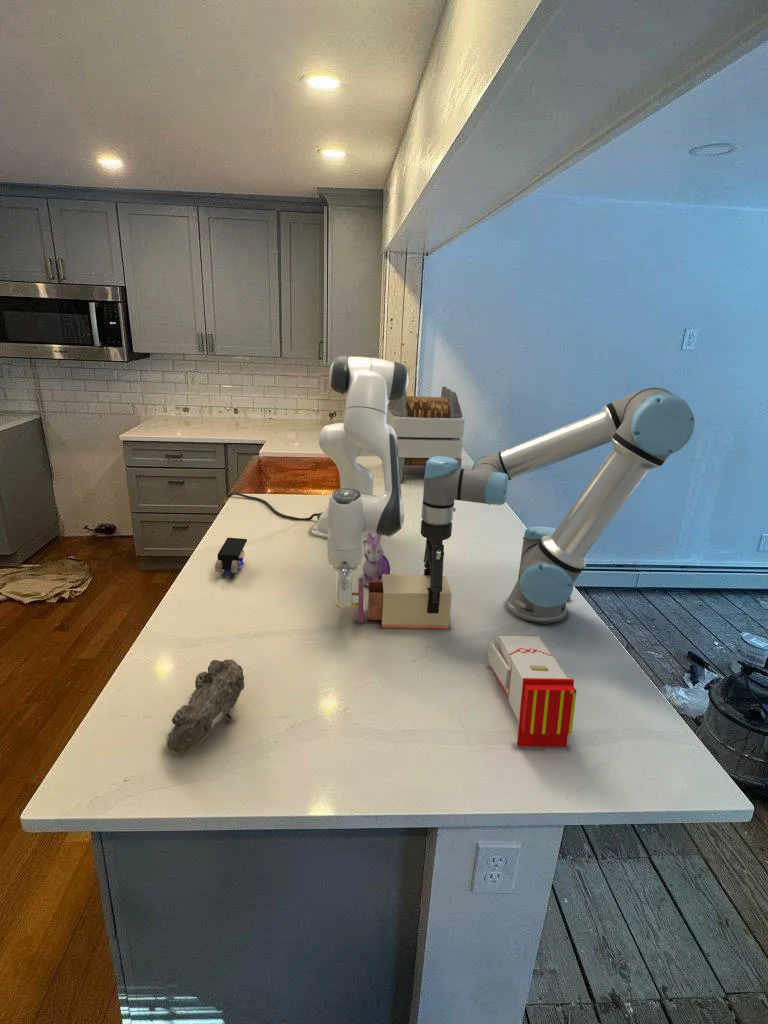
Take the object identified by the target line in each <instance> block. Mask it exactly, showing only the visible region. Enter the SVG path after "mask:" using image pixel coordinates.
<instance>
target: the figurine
mask: <svg viewBox="0 0 768 1024" xmlns="http://www.w3.org/2000/svg"><path fill="white" fill-rule="evenodd" d="M382 536H383V535H379V534H376V535H375V537H372V535H371V533H368V532H367V534H366V538H367V540H366V545H365V548H364V549H363V557H364V559H365V560H364V562H363V564H362V577H361V578H364V586H368V587H369V581H382V574H391V565H390V560H389V559H388V557H387V556H386V555H385V554H384V550H383V547H382V546H381V541H382Z"/></svg>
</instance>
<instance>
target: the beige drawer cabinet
mask: <svg viewBox="0 0 768 1024" xmlns="http://www.w3.org/2000/svg"><path fill="white" fill-rule="evenodd" d="M382 584H383V609H382V620H380V621H381V628H390V629H391V628H397V629H398V628H399V629H400V628H401V629H446V630H447V629H449V628H450V626H449V625H450V618H451V617H450V616H451V606H452V595H453V593H452V590H451V588H450V584H449V581H448V579H447V575H443V579H442V592H440V601H439V612H438V613H427V607H428V595H429V591H427V588H430V575H424V574H391V573H390V574H382Z"/></svg>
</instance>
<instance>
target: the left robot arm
mask: <svg viewBox="0 0 768 1024" xmlns="http://www.w3.org/2000/svg"><path fill="white" fill-rule="evenodd" d="M328 381H329V383H330V388H331V389H332V390H333V391H334V392H335V393H338V394H340V395H345V394H346V397H345V398H346V399H345V404H344V405H345V407H344V413H343V422H336V423H330V424H326V425H323V427H322V429H321V430H320V432H319V435H318V445H319V447H320V450H321V451H322V452H323V453H324V454H325V455H326V456H328V457H329V458H330V459H331V460H332V462H333V463H334V464H335V466H336V467H337V470H338V474H339V483H340V484H339V485H340V488H338V489H336V490H334V491H333V492H332V493H331V494H330V497H329V502H328V508H326V509H325V510H323V511H322V512H319V513H317V512H315V513H313V514H311V515H310V516H309V517H294V516H291V515H286V514H283V513H281V512H279V511H277V510H276V509H275V508H274V507H273V506H272V505H271V504H270V503H269V502H268V501H266V500H265V499H263V498H260V497H255V496H252V495H246V494H243V493H240V492H231V493H229V494H228V495H227V496H226V497H227V498H230V497H232V496H239V497H242V498H246V499H250V500H256V501H258V502H261V503H264V504H265V505H266V506H267V507H268V508H269V509H270V510H271V511H272V512H273V513H274V514H275V515H277V516H280V517H282V518H284V519H290V520H294V521H311V520H313V519H314V517H317V518H316V519H317V523H315V524H314V525H313V526H312V528H311V530H310V533H311V536H315V537H319V538H323V539H326V540H327V542H326V562H327V564H328V565H329V566H331V568H332V569H333V570H334V571H336V592H335V601H336V604H337V606H340V607H341V608H347V607H352V606H351V604H352V603H353V596H352V593H353V572H354V571H356V570H357V569H358V567H359V566H360V565H362V563H364V562H363V561H364V542H365V541H367V538H366V534H367V532H368V533H371V535H372V537H373V538H374V537H375V536H376V534H379V535H382V536H384V537H392V536H393V535H395V534H397V533H399V531H401V530H402V528H403V525H404V522H405V510H404V505H403V501H402V489H401V487H402V486H401V482H400V470H399V457H398V447H397V436H396V433H395V431H394V429H393V428H392V427H391V426H390V425H388V424H387V423H386V417H387V405H388V403H389V402H388V401H390V400H399V399H400V398H402V397H403V396H404V393H405V392H406V393H407V390H408V387H409V383H410V382H409V381H410V378H409V373H408V368H406V366H405V365H404V364H403V363H400V362H397V361H394V362H393V361H390V360H387V359H382V358H378V357H366V356H349V354H346V355H345V354H343V355H338V356H336V357H334V359H333V361H332V363H331V365H330V367H329V371H328ZM358 457H377V458H378V459H379V460H381V463H382V468H383V482H384V494H382V495H377V494H376V495H374V474H373V472H372V471H371V469H369V468H368V467H366V466H364V465H362V464H360V463H359V462H357V458H358Z"/></svg>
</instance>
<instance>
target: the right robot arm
mask: <svg viewBox="0 0 768 1024" xmlns="http://www.w3.org/2000/svg"><path fill="white" fill-rule="evenodd" d="M695 422H696V421H695V416H694V413H693V411H692V408H691V407H690V405H689V404H688V403H687V401H685V399H683V398H681V397H680V396H679V395H676V394H674V393H672V392H670V391H669V390H667V389H665V388H661V387H655V386H653V387H646V388H641V389H639V390H637V391H635V392H631V393H630V394H628V395H626V396H623V397H621V398H619V399H617V400H615V401H612V402H610V403H607V404H605V405H603V408H602V409H601V411H598V412H596V413H594V414H591V415H589V416H587V417H584V418H581V419H579V420H576V421H574V422H571V423H569V424H566V425H563V426H562V427H558V428H557V429H554V430H552V431H549V432H546V433H544V434H541V435H539V436H536V437H534V438H531V439H529V440H527V441H523V442H522V443H518V444H517V445H514V446H511V447H509V448H506V449H503V450H501V451H500V452H499V451H498V452H497V453H494V454H484V455H482V456H480V457H478V458H477V460H476V461H474V463H473V465H472V468H471V469H469V468H462V467H461V468H458V462H457V460H456V459H454V458H449V457H445V456H435V457H431V458H429V459H428V460H427V462H426V466H425V470H424V476H423V493H422V496H423V497H422V503H421V505H422V506H421V516H420V517H421V522H420V534H421V536H422V537H423V538H424V539H426V540H425V549H424V555H423V556H424V557H423V563H424V565H423V568H424V571H423V575H430V588H427V591H429V595H428V607H427V613H438V612H439V601H440V592H442V579H443V576H444V559H445V558H444V557H445V545H444V544H443V542H444V541H447V540H448V539H450V538H451V536H452V531H453V522H452V521H453V520H454V519H453V517H454V513H455V512H456V511H457V509H456V507H455V501H462V502H468V503H469V502H470V503H475V504H483V505H484V504H485V505H488V506H491V505H493V506H495V505H496V506H502V505H504V504H505V503H506V502H507V501H506V500H507V494H508V486H509V481H511V480H514V479H516V478H519V477H522V476H524V475H527V474H530V473H532V472H535V471H538V470H540V469H543V468H546V467H548V466H551V465H554V464H556V463H559V462H562V461H564V460H567V459H571V458H572V457H575V456H578V455H581V454H583V453H586V452H589V451H591V450H594V449H596V448H597V449H598V448H599V447H603V446H605V445H607V444H610V443H612V450H611V451H610V452H609V454H608V455H607V456H606V458H605V459H604V461H603V462H602V463H601V465H600V466H599V468H598V469H597V471H596V472H595V473H594V475H593V476H592V478H591V479H590V480H589V482H588V483H587V485H586V486H585V487H584V489H583V490H582V492H581V493H580V494H579V496H578V497H577V499H576V500H575V502H574V503H573V505H572V506H571V508H570V509H569V510H568V511H567V513H566V515H565V516H564V518H563V519H562V520H561V522H560V523H559V524H558V526H557V527H556V528H555V527H549V526H530V527H528V528H526V529H525V531H524V534H523V536H522V539H523V540H522V547H521V554H520V561H519V569H518V576H517V580H516V583H515V584H514V586H513V588H512V590H511V592H510V594H509V596H508V598H507V607H508V610H509V611H510V612H511V614H513V615H514V616H515V617H517V618H519V619H521V620H524V621H527V622H530V623H535V624H541V625H549V624H550V625H551V624H556V623H559V622H561V621H563V620H564V619H565V618H566V615H567V609H568V607H567V603H566V602H567V601H568V600H570V599H571V595H572V594H573V591H574V582H575V581H576V579H577V578H579V576H580V574H581V573H582V572H583V570H584V569H585V568H586V560H585V559H586V558H585V556H586V555H587V554H588V552H589V551H590V549H592V547H593V545H594V544H595V543H596V541H598V538H599V537H600V536H601V535H602V533H603V532H604V531H605V529H606V528H607V526H609V524H610V523H611V521H612V520H613V519H614V517H615V516H616V515H617V513H618V512H619V510H620V509H621V508H623V507H622V506H623V505H624V504H625V503H626V501H627V500H628V499H629V497H630V496H631V495H632V493H633V492H634V490H635V489H636V488H637V487H638V485H639V484H640V483H641V481H642V480H643V479H644V477H645V476H646V474H648V472H649V471H650V470H653V469H658V468H661V467H662V466H663V464H664V463H665V462H666V460H667V459H668V458H669V457H670V456H671V455H672V454H674V453H677V452H678V451H680V450H682V449H683V448H684V447H685V446H687V444H688V443H689V441H691V438H692V436H693V434H694V431H695V426H696V423H695Z"/></svg>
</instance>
